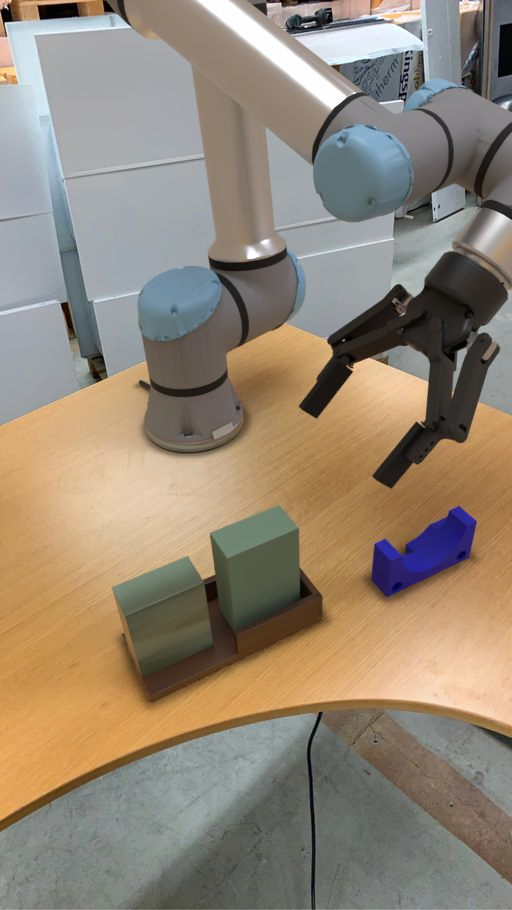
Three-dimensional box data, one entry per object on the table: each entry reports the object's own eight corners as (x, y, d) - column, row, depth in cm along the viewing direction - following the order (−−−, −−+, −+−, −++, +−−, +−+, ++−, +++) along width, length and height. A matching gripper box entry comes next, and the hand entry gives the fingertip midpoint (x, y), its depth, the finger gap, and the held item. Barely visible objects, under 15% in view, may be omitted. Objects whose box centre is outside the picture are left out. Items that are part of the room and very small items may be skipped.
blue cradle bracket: (443, 534, 81) (450, 498, 77) (469, 557, 78) (477, 521, 74) (363, 571, 77) (366, 535, 73) (386, 597, 74) (390, 561, 70)
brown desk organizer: (123, 639, 71) (103, 571, 64) (283, 568, 78) (281, 500, 71) (151, 702, 65) (132, 634, 58) (322, 619, 72) (323, 550, 65)
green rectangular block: (219, 609, 72) (209, 532, 65) (282, 581, 75) (279, 504, 68) (235, 635, 70) (226, 558, 62) (300, 605, 72) (299, 527, 65)
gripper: (600, 342, 56) (439, 529, 60) (416, 251, 74) (302, 401, 78) (571, 299, 51) (398, 507, 55) (380, 213, 69) (260, 375, 73)
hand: (341, 445), depth 67 cm, fingers open, 13 cm apart
